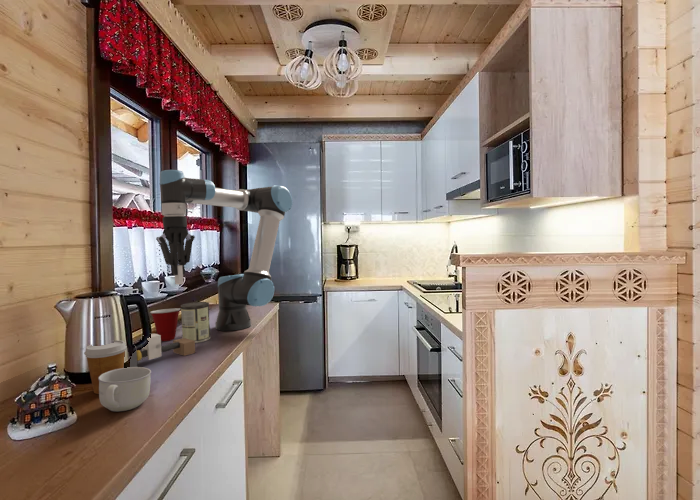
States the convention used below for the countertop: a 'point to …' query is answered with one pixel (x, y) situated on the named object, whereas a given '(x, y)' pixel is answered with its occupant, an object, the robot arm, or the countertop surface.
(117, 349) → the disposable coffee cup
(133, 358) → the cord rail
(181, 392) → the countertop surface
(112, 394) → the teacup
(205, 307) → the coffee can
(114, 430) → the countertop surface
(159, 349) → the white upright block
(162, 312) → the plastic cup
